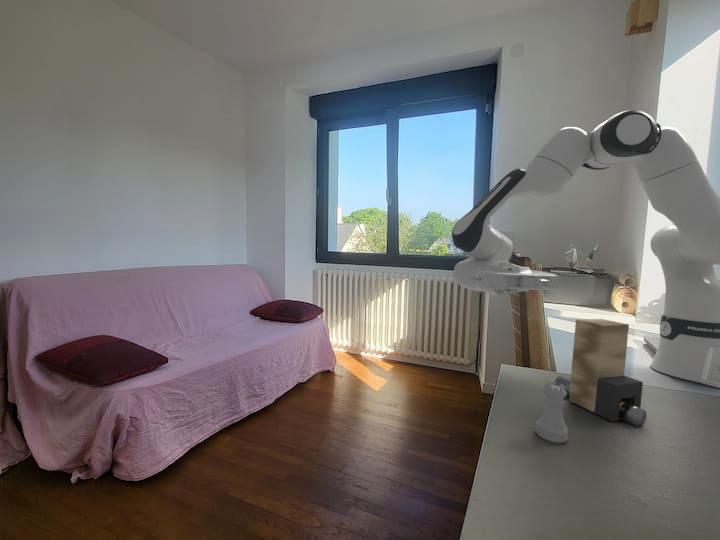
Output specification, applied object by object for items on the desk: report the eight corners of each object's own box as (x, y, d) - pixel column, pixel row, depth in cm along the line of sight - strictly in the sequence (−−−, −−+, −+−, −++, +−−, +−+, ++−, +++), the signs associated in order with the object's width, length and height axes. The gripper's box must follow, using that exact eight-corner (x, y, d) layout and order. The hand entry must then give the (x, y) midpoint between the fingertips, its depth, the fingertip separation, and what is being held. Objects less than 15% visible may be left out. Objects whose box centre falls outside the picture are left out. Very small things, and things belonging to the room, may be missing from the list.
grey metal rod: (553, 391, 69) (555, 376, 69) (564, 389, 70) (565, 375, 70) (633, 427, 55) (635, 410, 55) (645, 425, 56) (647, 408, 56)
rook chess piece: (566, 448, 48) (571, 393, 48) (532, 436, 51) (536, 385, 50) (569, 435, 52) (574, 385, 51) (537, 425, 54) (541, 377, 54)
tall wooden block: (568, 400, 64) (575, 319, 63) (594, 397, 66) (601, 318, 66) (594, 412, 59) (602, 325, 59) (620, 408, 62) (628, 324, 61)
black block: (594, 412, 59) (597, 378, 59) (621, 408, 62) (624, 375, 61) (612, 421, 57) (615, 385, 56) (639, 416, 59) (642, 381, 59)
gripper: (467, 264, 83) (509, 268, 70) (530, 267, 90) (579, 271, 77) (465, 290, 84) (507, 298, 71) (528, 290, 91) (577, 298, 78)
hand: (545, 284), depth 74 cm, fingers closed
